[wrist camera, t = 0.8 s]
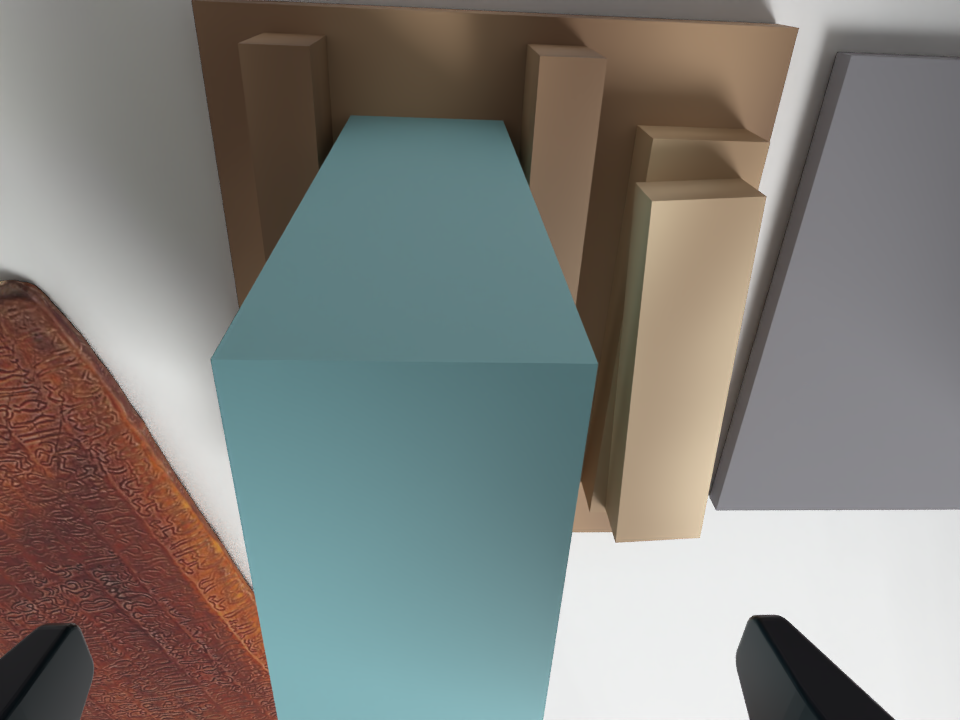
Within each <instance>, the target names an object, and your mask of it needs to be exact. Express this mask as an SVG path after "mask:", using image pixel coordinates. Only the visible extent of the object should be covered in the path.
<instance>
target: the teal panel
mask: <svg viewBox="0 0 960 720" xmlns="http://www.w3.org/2000/svg"><path fill="white" fill-rule="evenodd" d="M211 365H212V370H213V375H214V381H215V386H216V391H217V397H218V402H219V407H220V413H221V418H222V423H223V429H224V434H225V440H226V445H227V450H228V456H229V461H230V466H231V472H232V477H233V482H234V488H235V493H236V498H237V504H238V509H239V514H240V520H241V525H242V530H243V536H244V541H245V546H246V552H247V557H248V562H249V568H250V573H251V579H252V584H253V589H254V595H255V600H256V605H257V611H258V616H259V621H260V627H261V632H262V637H263V643H264V648H265V653H266V659H267V664H268V669H269V675H270V680H271V685H272V691H273V696H274V701H275V707H276V712H277V718H278V720H543V717H544V710H545V704H546V697H547V691H548V685H549V678H550V672H551V665H552V659H553V652H554V646H555V639H556V633H557V626H558V620H559V614H560V607H561V601H562V594H563V588H564V581H565V575H566V568H567V562H568V556H569V549H570V543H571V536H572V530H573V523H574V517H575V510H576V504H577V497H578V491H579V485H580V478H581V472H582V465H583V459H584V452H585V446H586V439H587V433H588V427H589V420H590V414H591V407H592V401H593V394H594V388H595V381H596V375H597V368H598V362H597V359H596V357H595V354H594V352H593V349H592V347H591V344H590V341H589V339H588V336H587V334H586V331H585V329H584V326H583V324H582V321H581V318H580V316H579V313H578V311H577V308H576V306H575V303H574V301H573V298H572V295H571V293H570V290H569V288H568V285H567V283H566V280H565V278H564V275H563V272H562V270H561V267H560V265H559V262H558V260H557V257H556V254H555V252H554V249H553V247H552V244H551V242H550V239H549V237H548V234H547V231H546V229H545V226H544V224H543V221H542V219H541V216H540V214H539V211H538V208H537V206H536V203H535V201H534V198H533V196H532V193H531V191H530V188H529V185H528V183H527V180H526V178H525V175H524V173H523V170H522V168H521V165H520V162H519V160H518V157H517V155H516V152H515V150H514V147H513V145H512V142H511V139H510V137H509V134H508V132H507V129H506V127H505V124H504V122H503V121H500V120H472V119H443V118H414V117H385V116H357V115H351V116H350V117H349V119H348V121H347V123H346V124H345V126H344V128H343V130H342V131H341V133H340V135H339V137H338V138H337V140H336V142H335V144H334V145H333V147H332V149H331V150H330V152H329V154H328V156H327V157H326V159H325V161H324V163H323V164H322V166H321V168H320V170H319V171H318V173H317V175H316V177H315V178H314V180H313V182H312V184H311V185H310V187H309V189H308V191H307V192H306V194H305V196H304V198H303V199H302V201H301V203H300V204H299V206H298V208H297V210H296V211H295V213H294V215H293V217H292V218H291V220H290V222H289V224H288V225H287V227H286V229H285V231H284V232H283V234H282V236H281V238H280V239H279V241H278V243H277V245H276V246H275V248H274V250H273V252H272V253H271V255H270V257H269V258H268V260H267V262H266V264H265V265H264V267H263V269H262V271H261V272H260V274H259V276H258V278H257V279H256V281H255V283H254V285H253V286H252V288H251V290H250V292H249V293H248V295H247V297H246V299H245V300H244V302H243V304H242V306H241V307H240V309H239V311H238V313H237V314H236V316H235V318H234V319H233V321H232V323H231V325H230V326H229V328H228V330H227V332H226V333H225V335H224V337H223V339H222V340H221V342H220V344H219V346H218V347H217V349H216V351H215V353H214V354H213V356H212V358H211Z"/></svg>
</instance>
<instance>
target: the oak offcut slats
mask: <svg viewBox="0 0 960 720" xmlns="http://www.w3.org/2000/svg"><path fill="white" fill-rule="evenodd" d="M769 145H770V142H768V141H767V140H765V139H763V138H761V137H759V136H758V135H756V134H754V133H752V132H750V131H749V130H747V129H730V128H701V127H673V126H644V125H637V131H636V138H635V144H634V150H633V157H632V163H631V169H630V176H629V182H628V189H627V195H626V201H625V208H624V214H623V221H622V227H621V233H620V240H619V246H618V252H617V259H616V265H615V272H614V278H613V284H612V291H611V297H610V303H609V310H608V316H607V323H606V329H605V335H604V342H603V348H602V355H601V361H600V367H599V374H598V380H597V386H596V393H595V399H594V406H593V412H592V418H591V425H590V431H589V438H588V444H587V450H586V457H585V463H584V469H583V476H582V486H583V489H584V493H585V497H586V500H587V504H588V508H589V512H606V513H607V516H608V519H609V523H610V526H611V529H612V532H613V536H614V539H615V542H616V543H618V542H635V541H653V540H670V539H688V538H700V534H701V529H702V524H703V519H704V514H705V508H706V503H707V498H708V493H709V488H710V483H711V478H712V473H713V468H714V462H715V457H716V452H717V447H718V442H719V437H720V432H721V427H722V421H723V416H724V411H725V406H726V401H727V396H728V391H729V386H730V380H731V375H732V370H733V365H734V360H735V355H736V350H737V345H738V340H739V334H740V329H741V324H742V319H743V314H744V309H745V304H746V299H747V293H748V288H749V283H750V278H751V273H752V268H753V263H754V258H755V252H756V247H757V242H758V237H759V232H760V227H761V222H762V217H763V211H764V206H765V201H766V196H765V195H764V194H762V193H761V192H759V191H758V188H759V184H760V180H761V176H762V172H763V168H764V164H765V160H766V157H767V153H768V149H769Z"/></svg>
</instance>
